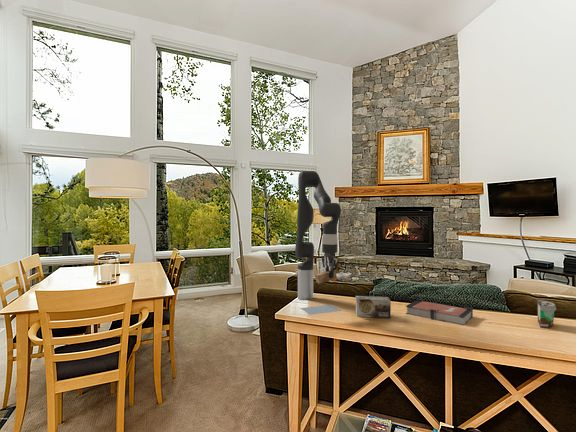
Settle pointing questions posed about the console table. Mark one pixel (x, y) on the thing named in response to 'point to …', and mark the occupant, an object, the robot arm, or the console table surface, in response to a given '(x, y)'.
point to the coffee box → (373, 307)
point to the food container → (546, 314)
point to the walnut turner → (325, 276)
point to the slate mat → (320, 309)
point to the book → (440, 312)
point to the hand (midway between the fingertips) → (329, 277)
